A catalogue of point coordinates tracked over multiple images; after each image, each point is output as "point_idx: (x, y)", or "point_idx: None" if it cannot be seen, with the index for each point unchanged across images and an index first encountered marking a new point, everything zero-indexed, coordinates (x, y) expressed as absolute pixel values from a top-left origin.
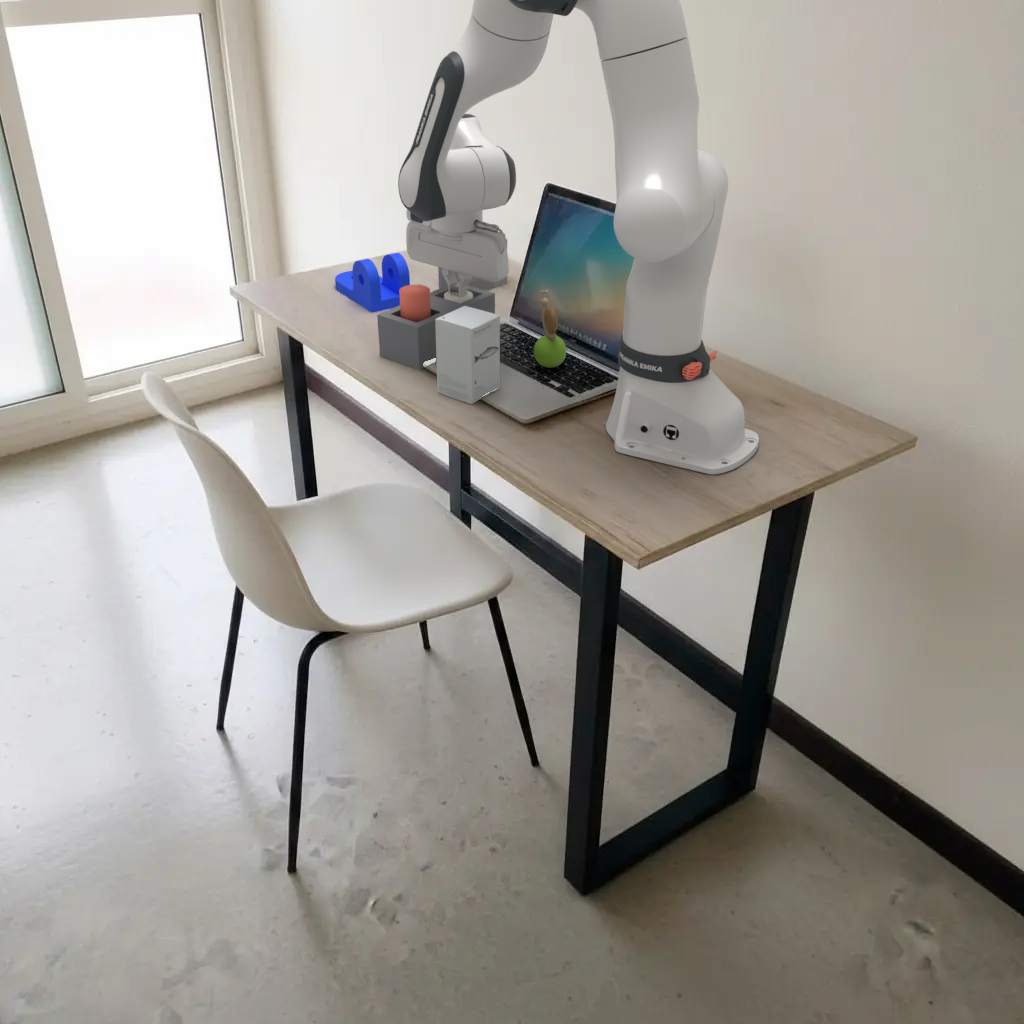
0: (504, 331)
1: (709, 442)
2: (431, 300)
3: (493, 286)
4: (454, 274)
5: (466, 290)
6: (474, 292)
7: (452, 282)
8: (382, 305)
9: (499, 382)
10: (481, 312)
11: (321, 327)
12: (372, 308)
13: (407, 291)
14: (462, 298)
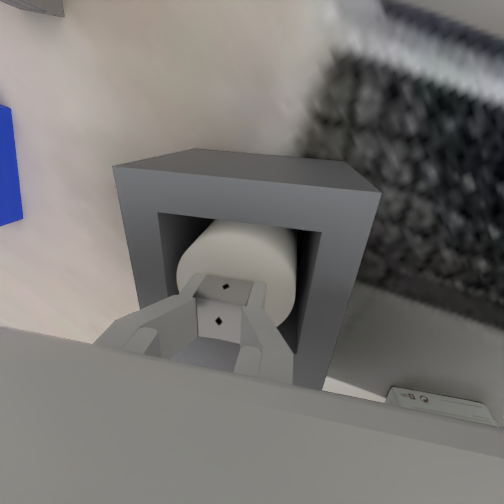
0: (365, 124)
1: None
2: (197, 363)
3: None
4: (157, 317)
5: (264, 297)
6: (268, 224)
7: (191, 327)
8: (7, 195)
9: (493, 419)
10: None
11: (44, 314)
12: (12, 220)
13: None
14: (272, 314)
